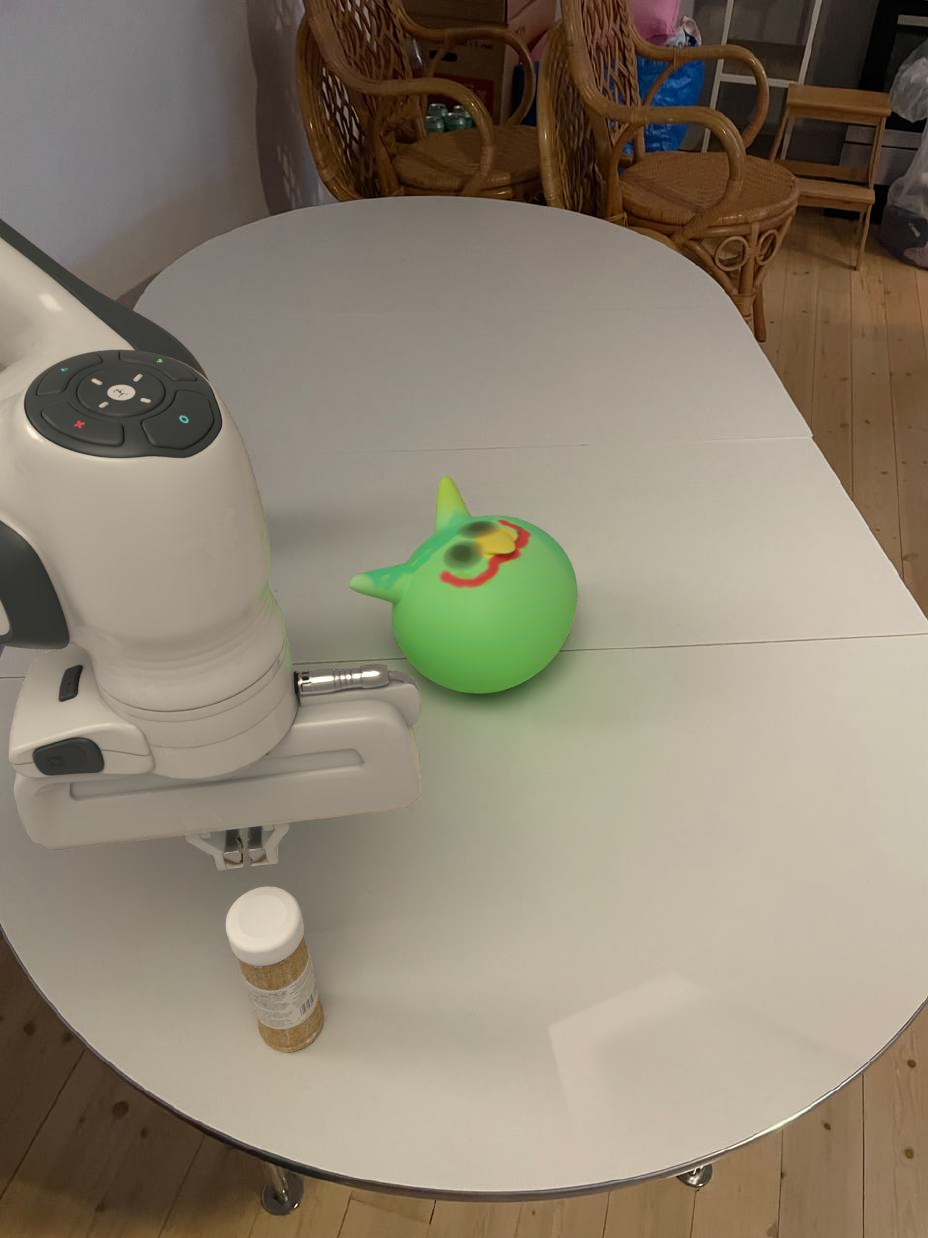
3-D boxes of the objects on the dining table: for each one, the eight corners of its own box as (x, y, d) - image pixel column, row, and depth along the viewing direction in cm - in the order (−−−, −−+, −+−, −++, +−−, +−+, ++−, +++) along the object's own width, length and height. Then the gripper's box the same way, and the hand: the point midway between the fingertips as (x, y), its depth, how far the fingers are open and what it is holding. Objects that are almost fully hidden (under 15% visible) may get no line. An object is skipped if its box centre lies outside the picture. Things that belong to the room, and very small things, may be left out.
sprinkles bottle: (289, 980, 74) (260, 871, 65) (338, 1015, 72) (316, 907, 63) (244, 1031, 71) (208, 924, 62) (294, 1068, 69) (263, 964, 60)
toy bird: (516, 752, 89) (519, 626, 80) (353, 685, 96) (337, 561, 86) (601, 627, 101) (613, 503, 91) (450, 575, 107) (446, 454, 97)
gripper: (412, 619, 53) (425, 791, 62) (-2, 663, 51) (75, 833, 61) (425, 709, 48) (437, 881, 58) (-30, 761, 47) (58, 929, 56)
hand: (248, 857), depth 59 cm, fingers closed
